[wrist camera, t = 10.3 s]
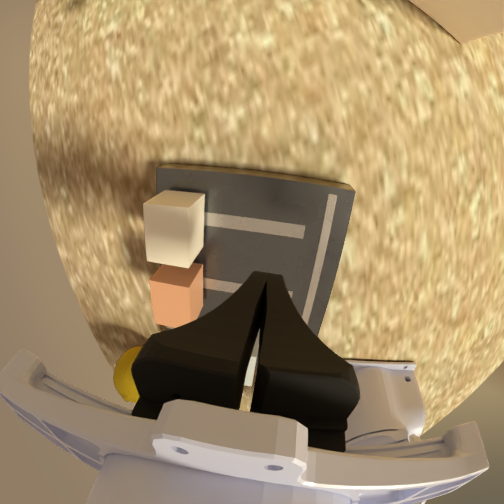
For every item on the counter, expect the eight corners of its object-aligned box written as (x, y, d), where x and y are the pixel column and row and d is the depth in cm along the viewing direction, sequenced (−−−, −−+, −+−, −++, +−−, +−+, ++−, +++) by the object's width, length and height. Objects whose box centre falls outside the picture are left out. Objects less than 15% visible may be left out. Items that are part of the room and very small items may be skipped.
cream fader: (204, 193, 19) (188, 208, 16) (203, 246, 20) (188, 268, 17) (165, 190, 19) (143, 203, 16) (166, 240, 21) (146, 261, 18)
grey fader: (261, 329, 23) (256, 357, 20) (256, 359, 25) (251, 386, 22) (226, 323, 23) (217, 350, 20) (225, 354, 25) (217, 380, 22)
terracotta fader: (203, 264, 21) (189, 287, 18) (203, 305, 23) (191, 331, 20) (166, 258, 21) (149, 280, 18) (170, 299, 23) (154, 323, 20)
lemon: (124, 334, 30) (93, 381, 23) (159, 330, 29) (128, 384, 22) (147, 365, 32) (123, 412, 25) (181, 364, 31) (159, 417, 24)
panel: (349, 184, 19) (355, 191, 18) (305, 357, 27) (305, 372, 26) (167, 163, 20) (156, 167, 19) (175, 335, 29) (169, 348, 27)
